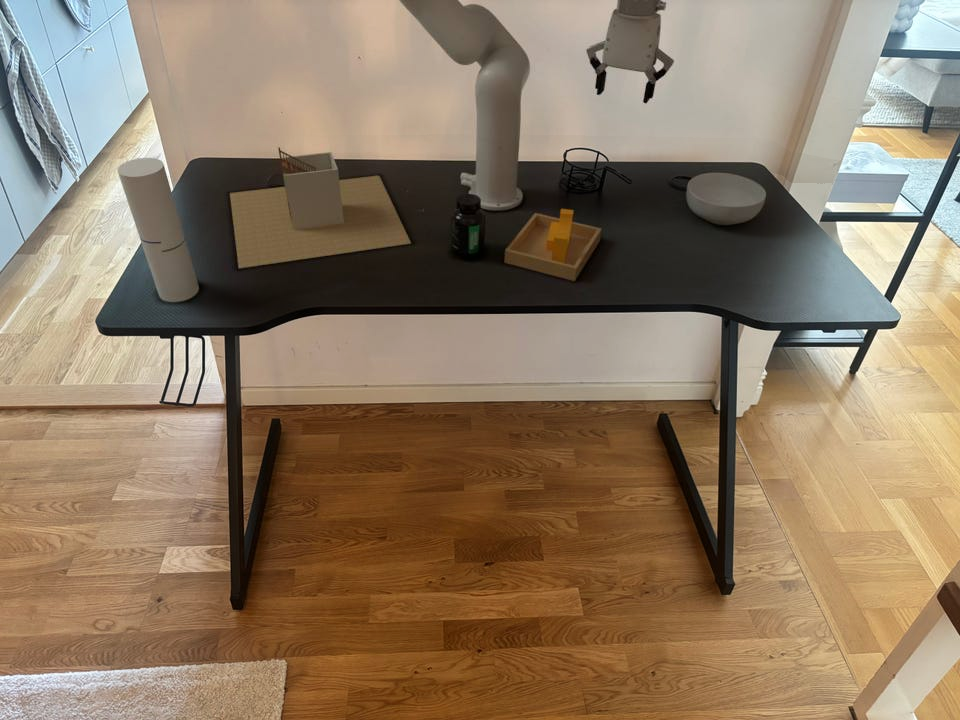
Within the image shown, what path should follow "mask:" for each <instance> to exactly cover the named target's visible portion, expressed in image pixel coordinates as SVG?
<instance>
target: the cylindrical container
mask: <svg viewBox="0 0 960 720" xmlns="http://www.w3.org/2000/svg"><path fill="white" fill-rule="evenodd" d="M117 175H118V177H119V180H120V183H121V185H122V189H123V192H124V195H125V197H126V201H127V204H128V207H129V210H130V213H131V216H132V219H133V222H134V225H135V228H136V230H137V235H138V237H139V240H140V242H141V243H140V244H141V245H142V249H143V252H144V254H145V258H146V261H147V264H148V267H149V270H150V273H151V276H152V279H153V282H154V285H155V288H156V290H157V293H158V297H159V299H161V300H163V301H164V302H168V303H180V302H184V301H187V300H190V299H192V298H193V297H195V296H196V295H197V294H198V293H199V289H200V288H199V287H200V286H199V283H198V279H197V276H196V273H195V269H194V265H193V262H192V258H191V255H190V251H189V248H188V245H187V241H186V238H185V234H184V230H183V227H182V224H181V220H180V217H179V213H178V209H177V207H176V206H177V205H176V202H175V199H174V195H173V191H172V188H171V185H170V182H169V178H168V175H167V171H166V167H165V165H164V162H163V160H161V159H158V158H155V157H138V158H133V159H130V160H127V161H125V162H123V163H121V164H119V166H118V167H117Z"/></svg>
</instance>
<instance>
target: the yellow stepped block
mask: <svg viewBox="0 0 960 720" xmlns="http://www.w3.org/2000/svg"><path fill="white" fill-rule="evenodd" d="M574 211H575V210H574V209H569V208H568V209H566V208H561V209H560V212H559V222H551V226H550V229H549V234H548V239H547V247H546V250H548V251H553V252H552V260H554V261H558V262H562V263H565V259H566V255H567V250H568V246H569V241H570V236H571V228H572V222H573V219H574Z"/></svg>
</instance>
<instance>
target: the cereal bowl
mask: <svg viewBox="0 0 960 720" xmlns="http://www.w3.org/2000/svg"><path fill="white" fill-rule="evenodd" d="M685 193H686V194H685V196H686V197H685V198H686V202H687V205H688V208H689V209H690V210H691V212H693V213H694V214H695V215H696V216H698V217H699V218H701V219H703V220H705V221H707V222H708V223H711V224H714V225H718V226H731V225H736V224H741V223H745V222H748V221H750V220H752V219H753V218H755V217H756V216H757V215H758V214H759V213H760V211H761V210H762V209H763V207H764V204H765V202H766V198H767V192H766V190H765V188H764V187H763V186H762V185H761V184H760V183H758V182H756V181H754V180H752V179H751V178H748V177H745V176H742V175H738V174H734V173H727V172H707V173H701V174H698V175H696V176H694V177H692V178H691V179H690V180H689V181H688V182H687V185H686V192H685Z"/></svg>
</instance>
